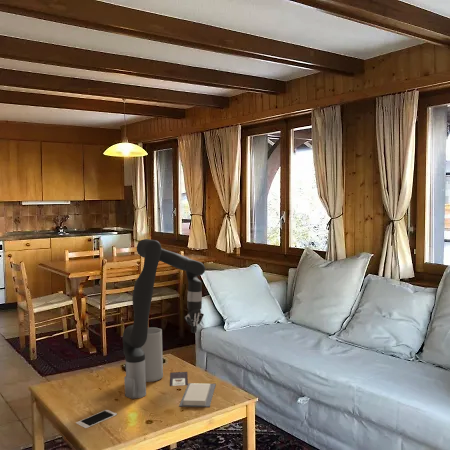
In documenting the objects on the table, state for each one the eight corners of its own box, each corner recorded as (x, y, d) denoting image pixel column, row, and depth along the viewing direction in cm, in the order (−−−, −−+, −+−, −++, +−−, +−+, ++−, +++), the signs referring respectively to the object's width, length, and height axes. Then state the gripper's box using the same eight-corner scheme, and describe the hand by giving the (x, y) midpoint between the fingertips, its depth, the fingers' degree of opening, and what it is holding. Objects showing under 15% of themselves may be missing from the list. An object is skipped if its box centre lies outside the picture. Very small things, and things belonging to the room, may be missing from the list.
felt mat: (209, 407, 223) (209, 406, 223) (179, 406, 225) (179, 405, 225) (215, 384, 249) (215, 383, 249) (188, 384, 250) (188, 383, 250)
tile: (190, 383, 244) (183, 400, 224) (210, 383, 243) (205, 400, 223) (190, 388, 244) (183, 405, 224) (210, 388, 243) (205, 406, 224)
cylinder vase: (143, 373, 267) (141, 327, 265) (165, 373, 265) (164, 327, 264) (135, 381, 255) (134, 334, 253) (159, 382, 253) (158, 334, 251)
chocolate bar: (187, 371, 266) (187, 384, 248) (187, 373, 266) (187, 386, 248) (170, 372, 265) (169, 385, 248) (170, 374, 266) (169, 387, 248)
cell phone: (75, 424, 211) (75, 422, 210) (106, 410, 223) (106, 409, 223) (86, 429, 205) (85, 428, 205) (117, 415, 218) (117, 414, 218)
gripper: (197, 297, 267) (197, 329, 267) (180, 300, 257) (179, 333, 257) (208, 299, 262) (207, 331, 263) (191, 302, 252) (190, 336, 252)
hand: (193, 332), depth 260 cm, fingers closed
